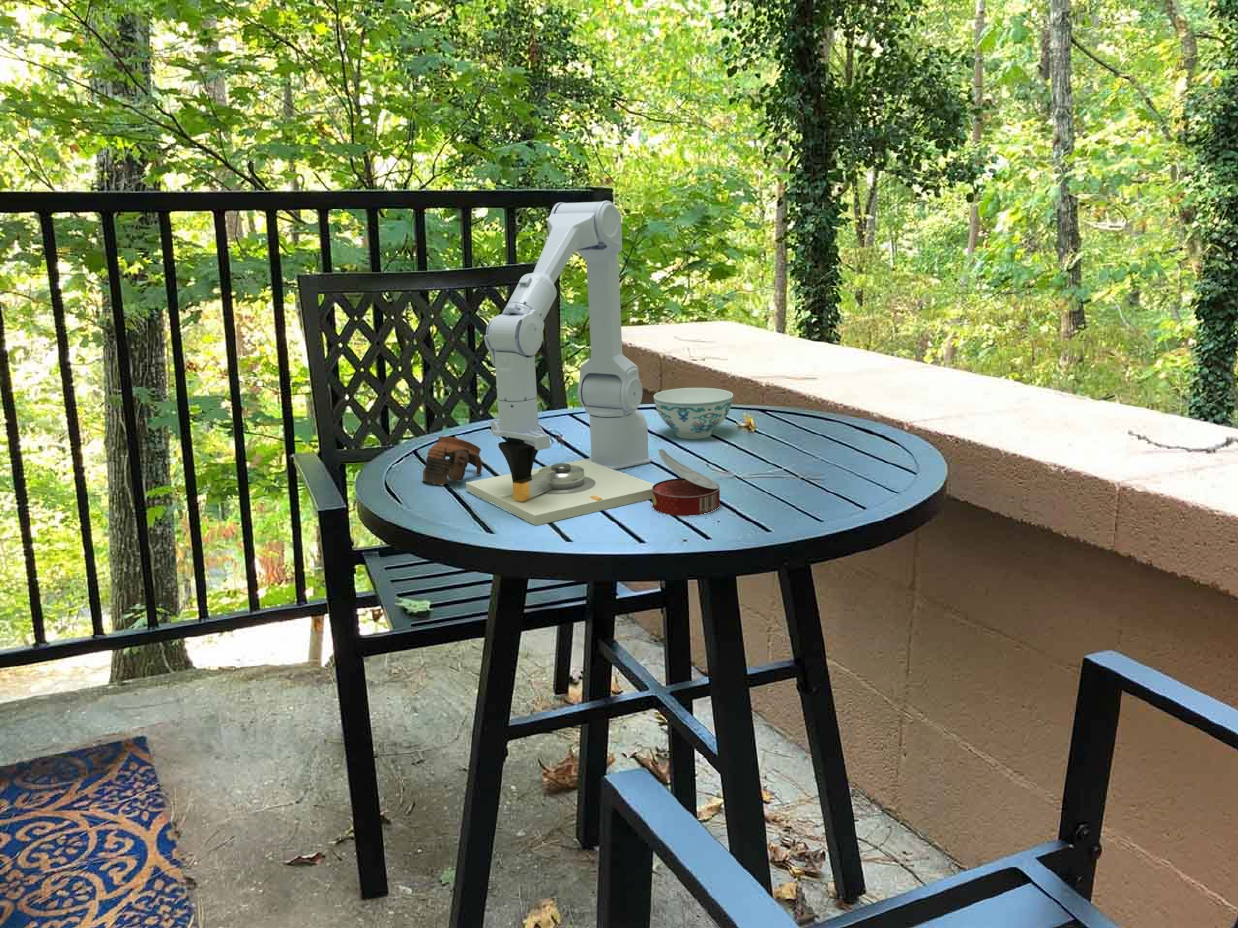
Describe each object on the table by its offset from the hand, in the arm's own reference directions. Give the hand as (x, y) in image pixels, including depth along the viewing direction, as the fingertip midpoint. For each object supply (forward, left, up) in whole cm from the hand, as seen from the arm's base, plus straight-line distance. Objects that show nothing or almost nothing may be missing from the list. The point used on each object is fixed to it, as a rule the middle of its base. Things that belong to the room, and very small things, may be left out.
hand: (522, 487), depth 146 cm
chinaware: (-47, -19, -3) cm, 51 cm away
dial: (-4, 0, -1) cm, 4 cm away
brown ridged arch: (+2, -20, -3) cm, 20 cm away
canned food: (-18, +16, -3) cm, 24 cm away
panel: (-7, -1, -3) cm, 8 cm away
